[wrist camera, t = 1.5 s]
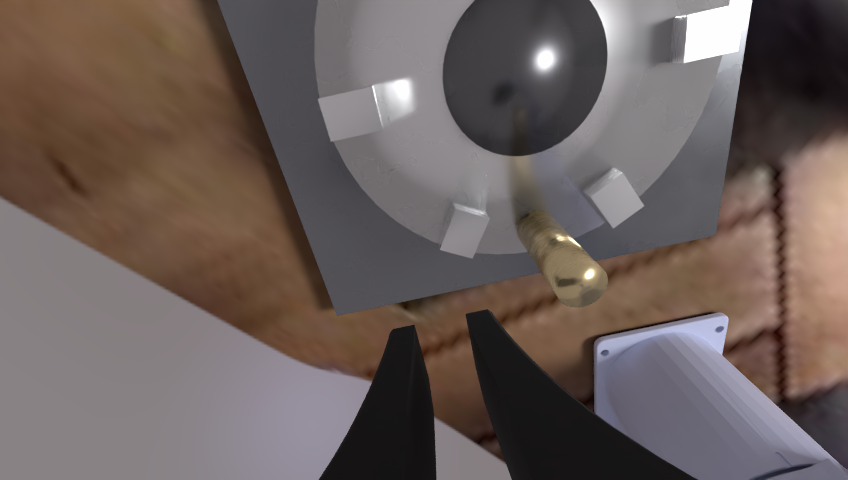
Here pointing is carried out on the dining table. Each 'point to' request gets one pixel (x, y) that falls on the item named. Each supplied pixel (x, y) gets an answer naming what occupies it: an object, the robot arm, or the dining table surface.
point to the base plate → (397, 245)
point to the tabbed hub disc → (517, 114)
